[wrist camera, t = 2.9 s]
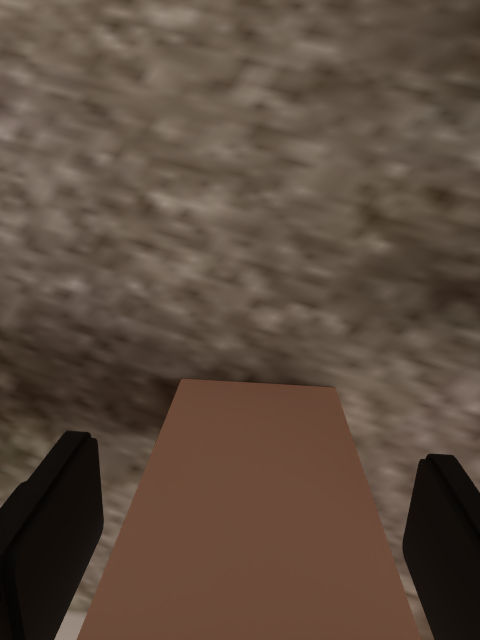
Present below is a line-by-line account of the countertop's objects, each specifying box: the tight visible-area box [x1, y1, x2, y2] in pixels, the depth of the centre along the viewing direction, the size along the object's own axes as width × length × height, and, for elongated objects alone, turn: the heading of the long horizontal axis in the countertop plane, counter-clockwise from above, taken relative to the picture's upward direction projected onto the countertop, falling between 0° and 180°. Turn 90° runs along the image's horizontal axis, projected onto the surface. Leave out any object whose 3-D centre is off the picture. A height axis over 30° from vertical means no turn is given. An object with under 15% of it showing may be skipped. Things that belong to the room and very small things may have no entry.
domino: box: [77, 379, 421, 640], centre depth 10 cm, size 2×5×10 cm, turn 87°
